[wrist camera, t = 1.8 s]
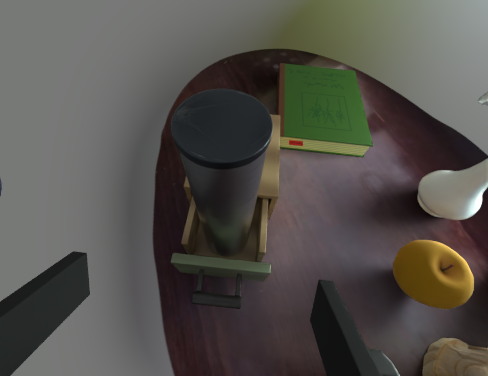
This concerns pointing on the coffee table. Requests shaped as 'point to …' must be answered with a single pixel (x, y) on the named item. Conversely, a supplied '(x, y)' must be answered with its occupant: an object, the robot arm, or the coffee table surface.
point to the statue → (455, 359)
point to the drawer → (215, 265)
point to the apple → (433, 274)
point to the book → (321, 111)
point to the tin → (223, 161)
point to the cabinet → (264, 170)
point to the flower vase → (454, 189)
